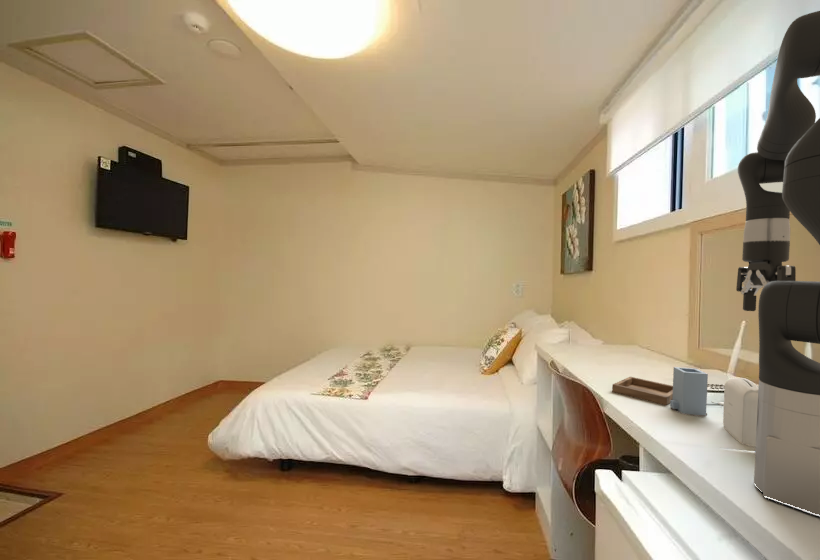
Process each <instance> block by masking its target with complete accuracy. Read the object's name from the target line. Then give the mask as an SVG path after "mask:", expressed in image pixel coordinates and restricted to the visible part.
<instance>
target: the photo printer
mask: <svg viewBox="0 0 820 560" xmlns="http://www.w3.org/2000/svg"><path fill="white" fill-rule="evenodd" d="M723 389H724V392H723V397H724V406H723V413H722V414H723V416H722V417H723V419H722V422H723V423H722V424H723V429H725V431H726V432H727V433H728V434H729V435H730V436H732V437H733V438H734V439H735V440H736V441H737V442H739V443H740V444H743V445H746V446H749V447H753V448H755V447H756V427H757V407H758V389H759V385H757V384H756V383H754V381H751V380H750V379H748V378H745V377H738V376H734V377H733V376H732V377H730V378H728V379H727V380H726V381H725V382H724V388H723Z"/></svg>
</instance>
